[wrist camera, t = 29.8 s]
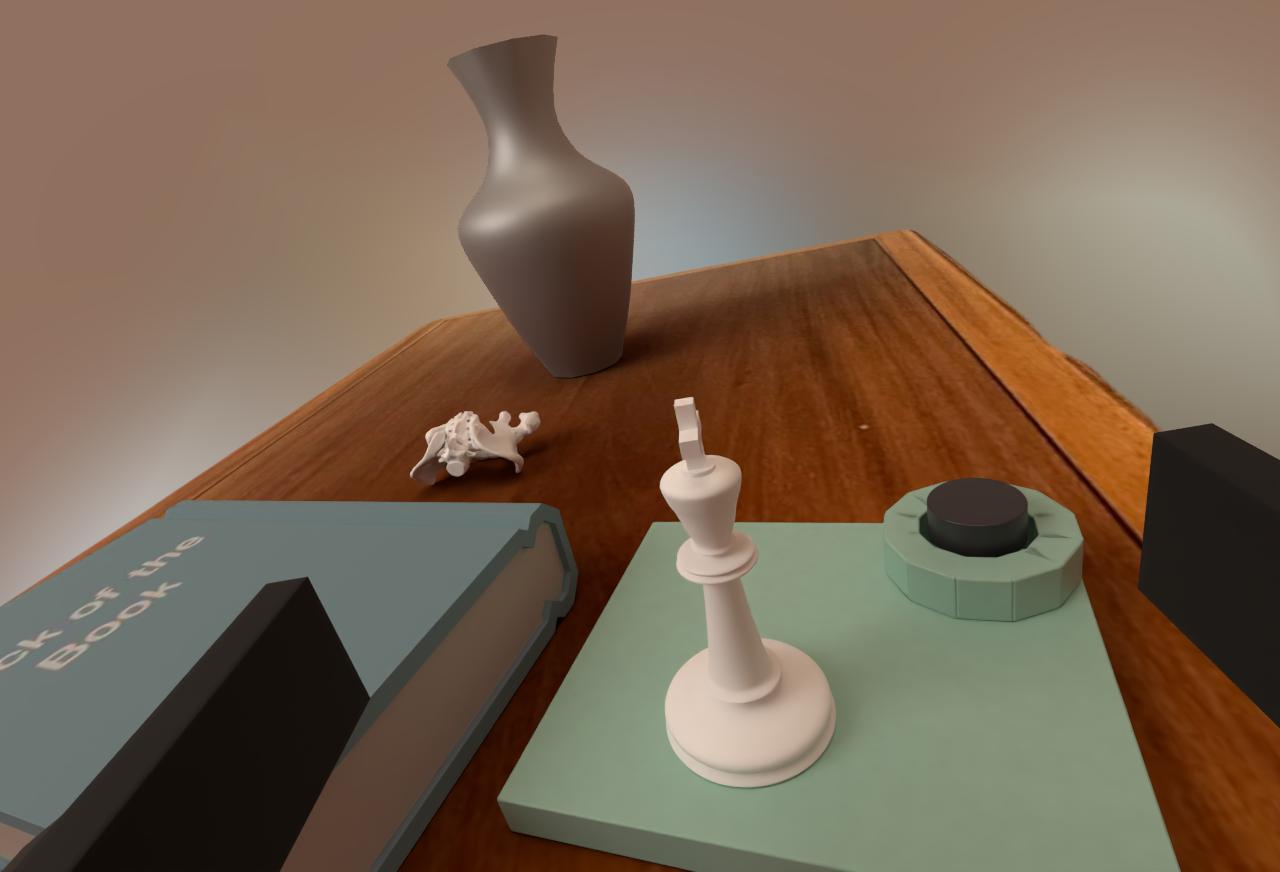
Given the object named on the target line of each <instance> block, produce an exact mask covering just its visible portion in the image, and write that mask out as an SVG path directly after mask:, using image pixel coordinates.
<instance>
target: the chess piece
mask: <svg viewBox="0 0 1280 872" xmlns="http://www.w3.org/2000/svg"><path fill="white" fill-rule="evenodd" d="M674 408H675V413H676V417H677V422H678V426H679V431H680V432H679V446H680V451H681V455H682V460H683V461H681V462H679V463H677V464H675V465H673V466H672V467H671V468H670V469H668V470H667V471H666V472H665V474H664V475H663V477H662V479H661V481H660V489H661V492H662V494H663V496H664V498H665V500H666V501H667V503H668V504H669V506H670V507H671V508H672V509H673V510H674V512H675V513H676V515H677V516H678V518H679V519H680V521H681V523H682V525H683V527H684V529H685V530H686V532H687V533H688V534H689V536H690V537H691V538H689V539H688V540H687V541H685V542H684V543H683V544H682V546H681V547H680V549H679V551H678V554H677V561H676V566H677V570H678V572H679V573H680V575H681V576H682V577H684V578H685V579H686V580H688V581H690V582H693V583H696V584H701V585H703V590H704V599H705V609H706V622H707V636H708V648H706V649H704V650H702V651H701V652H699V653H698V654H696V655H695V656H693V657H692V658H691V659H689V660H688V661H687V662H686V663H685V664H684V665H683V666H682V667H681V668H680V669H679V671H678V672H677V673H676V675H675V676H674V678H673V680H672V682H671V684H670V686H669V688H668V691H667V695H666V700H665V717H666V730H667V735H668V739H669V742H670V744H671V746H672V748H673V750H674V752H675V753H676V755H677V756H678V758H679V759H680V760H681V761H682V762H683V763H684V764H685V765H686V766H687V767H688V768H689V769H691V770H692V771H693V772H695V773H696V774H698V775H700V776H701V777H703V778H705V779H708V780H710V781H712V782H715V783H718V784H722V785H726V786H732V787H742V788H752V787H762V786H768V785H773V784H776V783H779V782H782V781H785V780H787V779H790V778H792V777H794V776H796V775H798V774H799V773H801V772H803V771H804V770H805V769H807V768H808V767H809V766H811V765H812V764H813V763H814V762H815V761H816V760H817V759H818V758H819V757H820V756H821V755H822V753H823V752H824V751H825V749H826V748H827V746H828V744H829V742H830V740H831V738H832V736H833V732H834V729H835V724H836V707H835V702H834V698H833V695H832V693H831V691H830V687H829V684H828V681H827V679H826V677H825V675H824V673H823V671H822V670H821V668H820V667H819V666H818V665H817V664H816V662H815V661H814V660H813V659H812V658H810V657H809V656H808V655H807V654H805V653H804V652H802V651H801V650H799V649H797V648H795V647H793V646H791V645H789V644H786V643H784V642H780V641H777V640H773V639H767V638H760V635H759V632H758V630H757V627H756V624H755V621H754V618H753V616H752V613H751V610H750V607H749V604H748V601H747V598H746V595H745V592H744V588H743V585H742V582H741V579H740V577H742V576H744V575H745V574H747V573H748V572H749V571H750V570H751V569H752V568H753V567H754V566H755V564H756V562H757V559H758V550H757V547H756V546H755V544H754V543H753V540H752V539H751V538H750V537H749V536H748V535H747V534H745V533H743V532H741V531H738V530H734V529H733V525H734V521H735V512H736V504H737V499H738V495H739V492H740V486H741V470H740V468H739V466H738V465H737V464H736V463H735V462H734V461H732V460H730V459H728V458H725V457H722V456H716V455H705V453H704V448H703V443H702V438H701V423H700V418H699V413H698V411H696V409H695V404H694V399H693V397H688V398H683V399H677V400H675V404H674ZM684 459H686V460H684Z"/></svg>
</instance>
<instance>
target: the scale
mask: <svg viewBox="0 0 1280 872" xmlns="http://www.w3.org/2000/svg"><path fill="white" fill-rule="evenodd" d="M943 483H945V482H943ZM943 483H939V484H936V485H932V486H929V487H925V488H922V489H919V490H915V491H912V492H909V493H908V494H906V495H905V496H904V497H903V498H901V499H900V500H899V501H898V502H897V503H896V504H894V505H893V506H892V507H891V508H890V509H889V510H887V511H886V513H885V515H884V523H740V522H734V525H733V529H734V530H738V531H741V532H743V533H745V534H747V535H748V536H749V537H750V538H751V539H752V540H753V543H754V544H755V546H756V547H757V550H758V559H757V562H756V564H755V566H754V567H753V568H752V569H751V570H750V571H749V572H748V573H747V574H745V575H744V576H742V577H740V579H741V582H742V585H743V588H744V592H745V595H746V598H747V601H748V604H749V607H750V610H751V613H752V616H753V618H754V621H755V624H756V627H757V630H758V632H759V635H760V638H767V639H773V640H777V641H780V642H784V643H786V644H789V645H791V646H793V647H795V648H797V649H799V650H801V651H802V652H804V653H805V654H807V655H808V656H809V657H810V658H812V659H813V660H814V661H815V662H816V664H817V665H818V666H819V667H820V668H821V670H822V671H823V673H824V675H825V677H826V679H827V681H828V684H829V687H830V691H831V693H832V695H833V698H834V702H835V707H836V724H835V729H834V732H833V736H832V738H831V740H830V742H829V744H828V746H827V748H826V749H825V751H824V752H823V753H822V755H821V756H820V757H819V758H818V759H817V760H816V761H815V762H814V763H813V764H812V765H811V766H809V767H808V768H807V769H805V770H804V771H803V772H801V773H799V774H798V775H796V776H794V777H792V778H790V779H787V780H785V781H782V782H779V783H776V784H773V785H768V786H762V787H752V788H742V787H732V786H726V785H722V784H718V783H715V782H712V781H710V780H708V779H705V778H703V777H701V776H700V775H698V774H696V773H695V772H693V771H692V770H691V769H689V768H688V767H687V766H686V765H685V764H684V763H683V762H682V761H681V760H680V759H679V758H678V756H677V755H676V753H675V752H674V750H673V748H672V746H671V744H670V742H669V739H668V735H667V730H666V717H665V700H666V695H667V691H668V688H669V686H670V684H671V682H672V680H673V678H674V676H675V675H676V673H677V672H678V671H679V669H680V668H681V667H682V666H683V665H684V664H685V663H686V662H687V661H688V660H689V659H691V658H692V657H693V656H695V655H696V654H698V653H699V652H701V651H702V650H704V649H706V648H708V636H707V622H706V609H705V599H704V590H703V585H701V584H696V583H693V582H690V581H688V580H686V579H685V578H684V577H682V576H681V575H680V573H679V572H678V570H677V566H676V561H677V554H678V551H679V549H680V547H681V546H682V544H683V543H684V542H685V541H687V540H688V539H689V538H691V537H690V536H689V534H688V533H687V532H686V530H685V529H684V527H683V525H682V523H681V522H653V523H652V525H651V527H650V529H649V531H648V532H647V534H646V536H645V538H644V539H643V541H642V543H641V545H640V546H639V548H638V550H637V552H636V554H635V555H634V557H633V559H632V561H631V562H630V564H629V566H628V568H627V569H626V571H625V573H624V575H623V577H622V578H621V580H620V582H619V584H618V585H617V587H616V589H615V591H614V592H613V594H612V596H611V598H610V600H609V601H608V603H607V605H606V607H605V608H604V610H603V612H602V614H601V615H600V617H599V619H598V621H597V623H596V624H595V626H594V628H593V630H592V631H591V633H590V635H589V637H588V638H587V640H586V642H585V644H584V645H583V647H582V649H581V651H580V653H579V654H578V656H577V658H576V660H575V661H574V663H573V665H572V667H571V668H570V670H569V672H568V674H567V676H566V677H565V679H564V681H563V683H562V684H561V686H560V688H559V690H558V691H557V693H556V695H555V697H554V699H553V700H552V702H551V704H550V706H549V707H548V709H547V711H546V713H545V714H544V716H543V718H542V720H541V722H540V723H539V725H538V727H537V729H536V730H535V732H534V734H533V736H532V737H531V739H530V741H529V743H528V744H527V746H526V748H525V750H524V752H523V753H522V755H521V757H520V759H519V760H518V762H517V764H516V766H515V767H514V769H513V771H512V773H511V775H510V776H509V778H508V780H507V782H506V783H505V785H504V787H503V789H502V790H501V792H500V794H499V796H498V798H497V801H498V804H499V806H500V808H501V810H502V812H503V815H504V817H505V819H506V821H507V824H508V826H509V828H510V830H511V831H514V832H519V833H523V834H528V835H532V836H537V837H541V838H546V839H550V840H555V841H559V842H564V843H568V844H573V845H577V846H582V847H586V848H591V849H595V850H600V851H604V852H609V853H613V854H618V855H622V856H627V857H631V858H636V859H640V860H645V861H650V862H654V863H659V864H663V865H668V866H672V867H677V868H681V869H686V870H690V871H695V872H1181V870H1180V867H1179V864H1178V861H1177V858H1176V855H1175V852H1174V849H1173V846H1172V843H1171V840H1170V837H1169V835H1168V832H1167V829H1166V826H1165V823H1164V820H1163V817H1162V814H1161V811H1160V808H1159V805H1158V802H1157V799H1156V796H1155V793H1154V790H1153V787H1152V784H1151V781H1150V778H1149V775H1148V772H1147V769H1146V766H1145V763H1144V760H1143V757H1142V754H1141V752H1140V749H1139V746H1138V743H1137V740H1136V737H1135V734H1134V731H1133V728H1132V725H1131V722H1130V719H1129V716H1128V713H1127V710H1126V707H1125V704H1124V701H1123V698H1122V695H1121V692H1120V689H1119V686H1118V683H1117V680H1116V677H1115V674H1114V672H1113V669H1112V666H1111V663H1110V660H1109V657H1108V654H1107V651H1106V648H1105V645H1104V642H1103V639H1102V636H1101V633H1100V630H1099V627H1098V624H1097V621H1096V618H1095V615H1094V612H1093V609H1092V606H1091V603H1090V600H1089V597H1088V594H1087V591H1086V589H1085V586H1084V583H1083V580H1082V564H1083V547H1084V539H1083V536H1082V534H1081V531H1080V528H1079V526H1078V523H1077V520H1076V517H1075V515H1074V513H1072V512H1071V511H1070V510H1068V509H1066V508H1065V507H1063V506H1062V505H1060V504H1058V503H1057V502H1055V501H1054V500H1052V499H1050V498H1049V497H1047V496H1045V495H1044V494H1042V493H1040V492H1039V491H1036V490H1032V489H1028V488H1023V487H1019V486H1015V485H1012V486H1014V487H1015V488H1017V489H1019V490H1020V491H1021V492H1022V493H1023V494H1024V495H1025V497H1026V499H1027V501H1028V533H1027V541H1026V543H1025V545H1024V546H1023V548H1022V549H1020V550H1019V551H1017V552H1014V553H1011V554H1007V555H1004V556H1001V557H998V558H994V557H964V556H961V555H958V554H955V553H952V552H949V551H946V550H943V549H940V548H938V547H937V546H935V545H934V544H933V542H932V541H931V539H930V537H929V534H928V518H927V497H928V495H929V493H930V492H931V491H932V490H933V489H934V488H935V487H937V486H939V485H941V484H943ZM1009 485H1011V484H1009Z"/></svg>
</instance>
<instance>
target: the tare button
mask: <svg viewBox="0 0 1280 872" xmlns="http://www.w3.org/2000/svg"><path fill="white" fill-rule="evenodd" d="M927 518H928V534H929V537H930V539H931V541H932V542H933V544H934V545H935V546H937V547H938V548H940V549H943V550H946V551H949V552H952V553H955V554H958V555H961V556H964V557H994V558H998V557H1001V556H1004V555H1007V554H1011V553H1014V552H1017V551H1019V550H1020V549H1022V548H1023V546H1024V545H1025V543H1026V541H1027V533H1028V501H1027V499H1026V497H1025V495H1024V494H1023V493H1022V492H1021V491H1020V490H1019V489H1017V488H1015V487H1014V486H1012V485H1009V484H1007V483H1004V482H1001V481H997V480H992V479H985V478H964V479H957V480H952V481H948V482H945V483H943V484H941V485H939V486H937V487H935V488H934V489H933V490H932V491H931V492H930V493H929V495H928V497H927Z"/></svg>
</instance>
